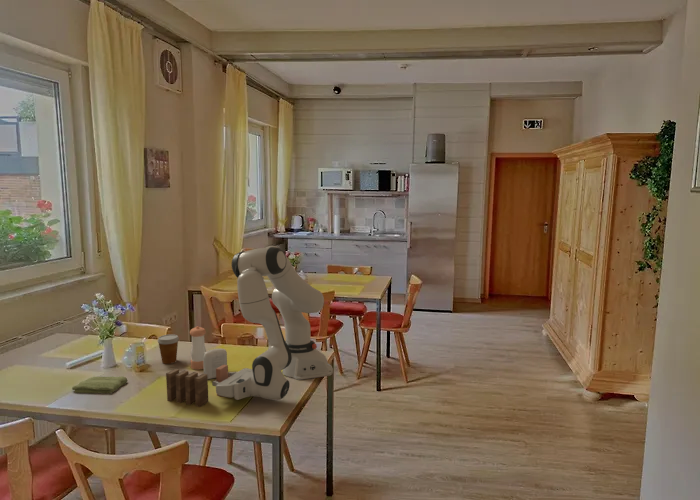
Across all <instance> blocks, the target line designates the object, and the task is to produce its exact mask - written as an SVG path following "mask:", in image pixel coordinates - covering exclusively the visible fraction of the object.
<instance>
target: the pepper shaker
mask: <svg viewBox="0 0 700 500" xmlns="http://www.w3.org/2000/svg"><path fill="white" fill-rule="evenodd" d="M206 333H207V331H206V329H205V328H204V327H200V326H198V325H197V326H195V327H193V328H191V329H190V330H189V335H190V336H191V351H190V358H191V359H190V368H191V370H195V371H196V370H204V363H203V355H204V353H205V352H207V349H206V346H205V335H206Z"/></svg>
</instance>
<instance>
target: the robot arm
mask: <svg viewBox="0 0 700 500" xmlns="http://www.w3.org/2000/svg"><path fill="white" fill-rule="evenodd" d="M231 270H232V272H233V274H234V276H235V277H236V278H237V282H236V284H237V285H236V289H237V297H238V303H239V304H238V305H239V308H240V312H241V315H242V317H243V319H245V320H246V321H247V322H250V323H253V324H260V325H262V327H263V328H264V331H265V335H266V337H267V342H268V345H269V346H268V349H267V350H265V351H264V352H262V353H261V354H259V355H258V356H256V358H254V359H253V361H252V364H251V368H249V367H248V368H247V367H245V368H242V369H241V370H239V371H228V378H227V379H225V380H224V381H222V382H218V381H216V380H213V381H212V382H211V384H212V385H211V386H212V387H215V393H216V395H217V394H218V395H220V396H219V397H225V398H234V399H235V400H237V401H238V400H239V401H240V400H241V399H245V398H249V397H254V398H255V397H260V398H262V399H266V400H271V401H272V400H275V401H278V400H279V401H280V400H282V399H284V398H285V396H286V395H287V394H288V392H289V391H290V381H289V379H287V378H286V377H289V378H293V379H295V380H299V381H300V380H307V379H314V378H315V379H316V378H321V377H322V378H323V377H329V376H331V375H333V373H334V368H333V366H332V364H330V363H329V362H328V359H327V357H326V355H325V354H324V353H323V352H321V351H320V350H318V349H317V347H318V346H317V344H316V342H315V341H314V340H311V323H310V321H308V319H307V318H306V317H305V316H304V314H313V313H314V314H315V313H319V312H320V311H321V310H322V308H323V307H324V302H325V298H324V294H323V293H322V292H321V291H320V290H318V289H317V288H314V287H313V286H312V285H311V284H309V282H307V281H306V280H305V279H303V278H302V277H301V276H300V275H299V273H298V272H297V271H296V269H295V268H294V266H293V264H292V262H291V261H290V259H289V258H288V257H287V255H286V253H285V252H284V250H282V249H281V248H279V247H278V246H276V245H268V246H266V247H258V248H255V249H249V250H246V251H243V250H242V251H238V252H237V253H236V254H234V256H233V258H232V259H231ZM264 277H267V278H268V279H269V281H270V282H271V284H272V285H273V287H274V289H273V290H272V293H271V301H272V304H273V305H275V307H276V308H277V309H278V311H279V313H280V315H281V317H282V320H283V324H284V333H283V331H282V328H281V324H280V321H279V318H278V315H277V313H276V311H275V309H273V307H272V304H271V301H270V297H269V292H268V289H267V285H266V282H265V281H264ZM284 334H285V337H284ZM285 376H286V377H285ZM218 395H217V396H218Z"/></svg>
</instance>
